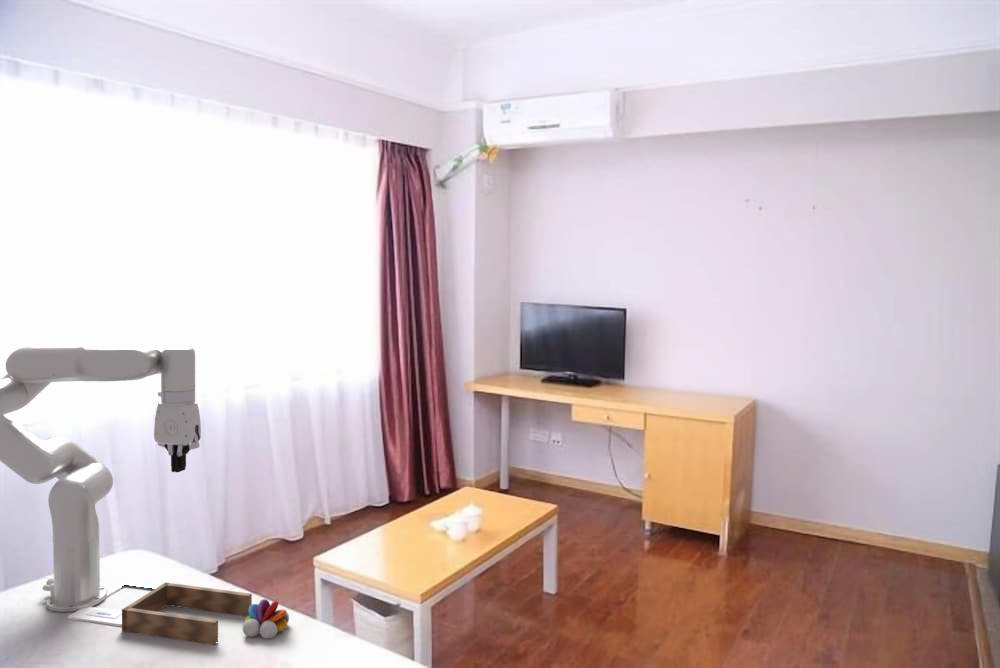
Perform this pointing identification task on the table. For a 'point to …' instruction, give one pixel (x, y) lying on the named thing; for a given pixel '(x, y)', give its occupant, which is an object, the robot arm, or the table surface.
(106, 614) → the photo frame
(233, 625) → the table surface
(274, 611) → the rainbow roller toy
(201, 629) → the u-shaped wooden frame
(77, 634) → the table surface
